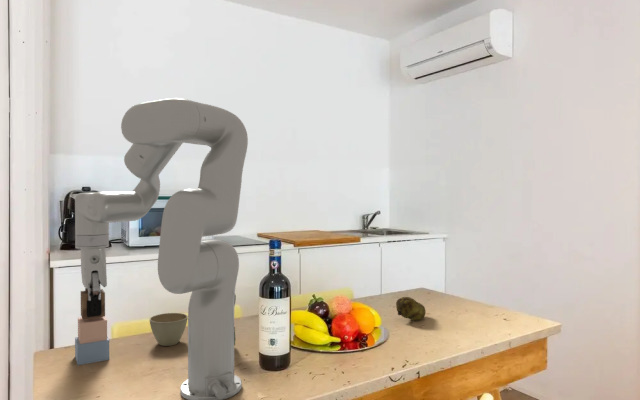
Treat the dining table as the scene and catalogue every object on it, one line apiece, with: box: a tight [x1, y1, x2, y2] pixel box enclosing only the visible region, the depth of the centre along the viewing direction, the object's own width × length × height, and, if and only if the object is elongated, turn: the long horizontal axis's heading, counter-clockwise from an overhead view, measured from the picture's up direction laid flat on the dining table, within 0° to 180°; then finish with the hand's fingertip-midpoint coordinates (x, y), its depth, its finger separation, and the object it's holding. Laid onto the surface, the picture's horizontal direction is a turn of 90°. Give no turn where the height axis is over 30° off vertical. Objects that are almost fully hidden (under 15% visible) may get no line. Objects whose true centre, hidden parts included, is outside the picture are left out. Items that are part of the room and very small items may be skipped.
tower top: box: [77, 315, 108, 344], centre depth 113 cm, size 6×6×5 cm
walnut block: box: [80, 288, 106, 319], centre depth 113 cm, size 5×5×6 cm
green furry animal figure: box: [395, 296, 426, 322], centre depth 147 cm, size 8×13×8 cm, turn 119°
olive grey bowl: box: [149, 312, 188, 347], centre depth 124 cm, size 10×10×7 cm
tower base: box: [74, 336, 110, 366], centre depth 113 cm, size 7×7×5 cm
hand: (92, 312), depth 113 cm, fingers closed on walnut block, 5 cm apart
